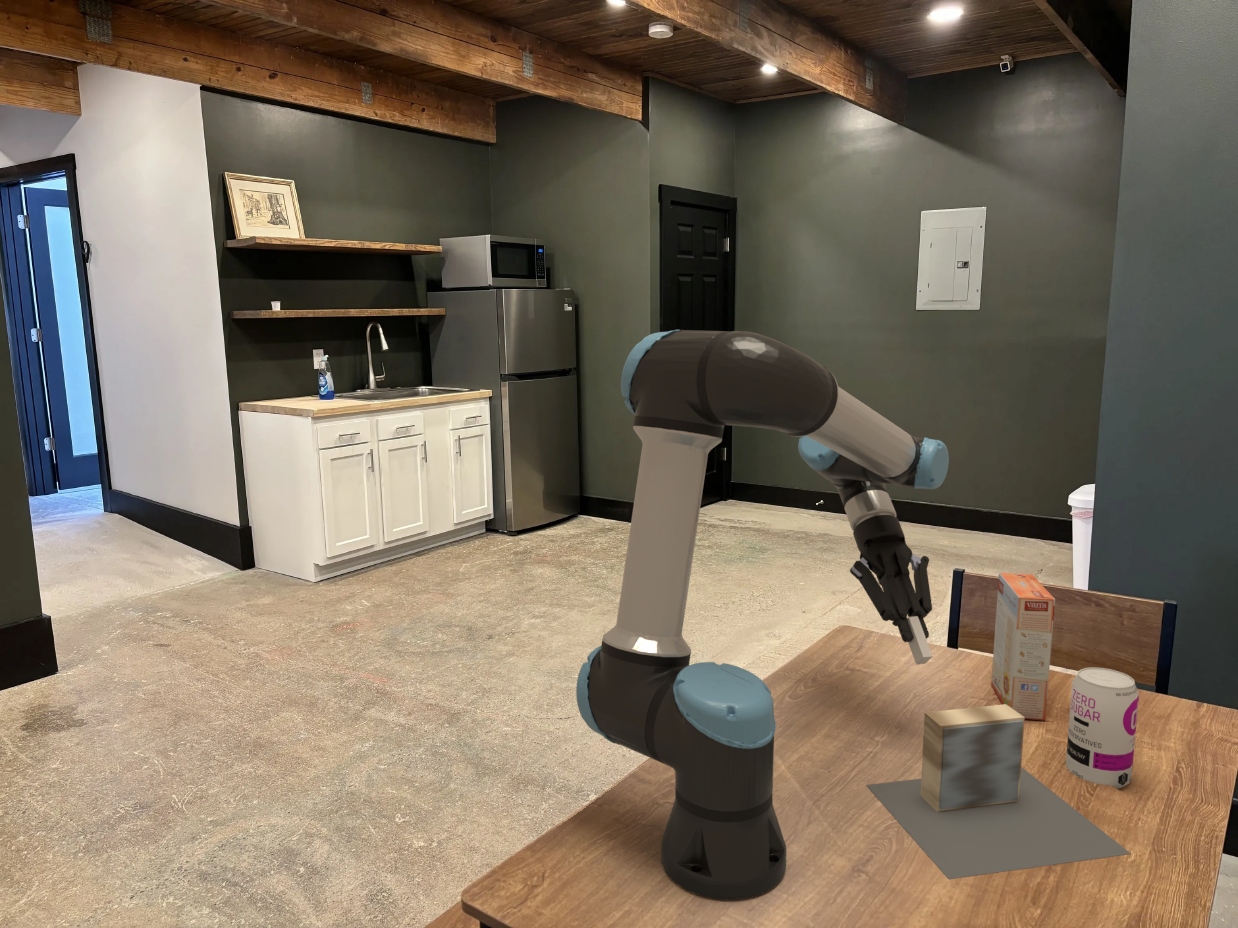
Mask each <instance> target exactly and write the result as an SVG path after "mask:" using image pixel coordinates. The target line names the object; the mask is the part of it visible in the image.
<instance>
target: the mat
mask: <svg viewBox="0 0 1238 928" xmlns="http://www.w3.org/2000/svg"><path fill="white" fill-rule="evenodd" d="M865 786H866V788H867V789H868V790H869V791H870V792H871V793H872V795H874V797H875V798H876V799H877V800H878V801H879V803H880V804H881V805H882V806H884V807H885V809H886V810H887V811H888V813H890V815H891V816H892V817H893V818H894V819H895V820H896V821H897V823H898V824H899V825H900V827H902V828H903V830H904V831H906V833H907V834H908V835H909V836H910V837H911V838H912V840H913V841H914V842H915V843H916V844H917V846H918V847H919V848H920V849H921V850H922V851H923V852H924V853H925V854H926V856H927V857H928V858H929V859H930V860H931V861H932V862H933V863H934V865H936V866H937V868H938V869H939V871H941V873H942V874H943V875H944V876H945V877H946V878H947V880H955V879H962V878H969V877H975V876H983V875H990V874H997V873H998V874H999V873H1005V872H1012V871H1018V870H1019V871H1020V870H1027V869H1033V868H1041V867H1047V866H1056V865H1061V864H1063V865H1064V864H1071V863H1076V862H1082V861H1083V862H1084V861H1090V860H1098V859H1103V858H1104V859H1105V858H1111V857H1112V858H1113V857H1120V856H1125V855H1132V853H1131V852H1130V851H1129V850H1127V849H1126V848H1125V847H1124V846H1122V845H1121V844H1120V843H1119V842H1117V841H1116V840H1114V838H1112V837H1111V836H1109V834H1107V833H1106V832H1105V831H1103V830H1102V829H1101V828H1100V827H1098V826H1097V825H1096V824H1094V823H1093V822H1092V821H1091V820H1089V819H1088V818H1087V817H1086V816H1084V815H1083V814H1081V812H1080V811H1078V810H1077V809H1075V808H1074V807H1073V806H1072V805H1070V804H1069V803H1068V802H1067V801H1065V800H1064V799H1063V798H1061V797H1060V795H1058V794H1056V793H1055V792H1054V791H1052V789H1050V788H1049V787H1048V786H1046V785H1045V784H1044V783H1042V782H1041V781H1040V780H1039V779H1037V778H1036V777H1035V776H1033V774H1032V773H1030V772H1029V771H1027V769H1025V768H1024V767H1022V766H1021V776H1020V790H1019V801H1018V802H1010V803H1002V804H994V805H986V806H978V807H970V808H961V809H953V810H945V811H937V812H936V811H935V810H934V809H933V808H932V807H931V806H930V805H929V804H928V803H927V802H926V801H925V800H924V799H923V798H922V796H921V778H916V779H915V778H914V779H907V780H906V779H905V780H898V781H888V782H881V783H880V782H879V783H874V784H873V783H871V784H866V785H865Z"/></svg>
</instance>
